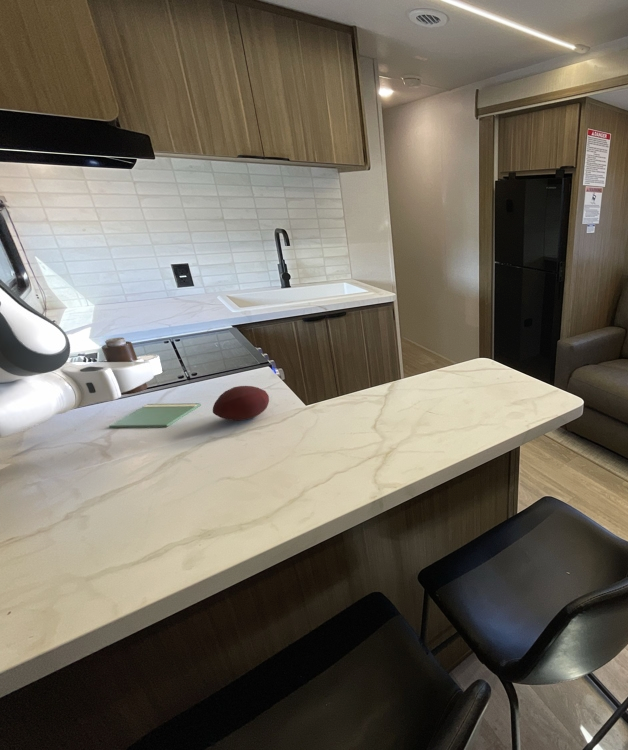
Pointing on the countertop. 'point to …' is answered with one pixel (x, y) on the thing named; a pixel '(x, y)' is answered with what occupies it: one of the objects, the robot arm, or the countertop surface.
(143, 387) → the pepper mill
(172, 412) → the tea towel
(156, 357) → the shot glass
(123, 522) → the countertop surface
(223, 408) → the potato
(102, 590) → the countertop surface
